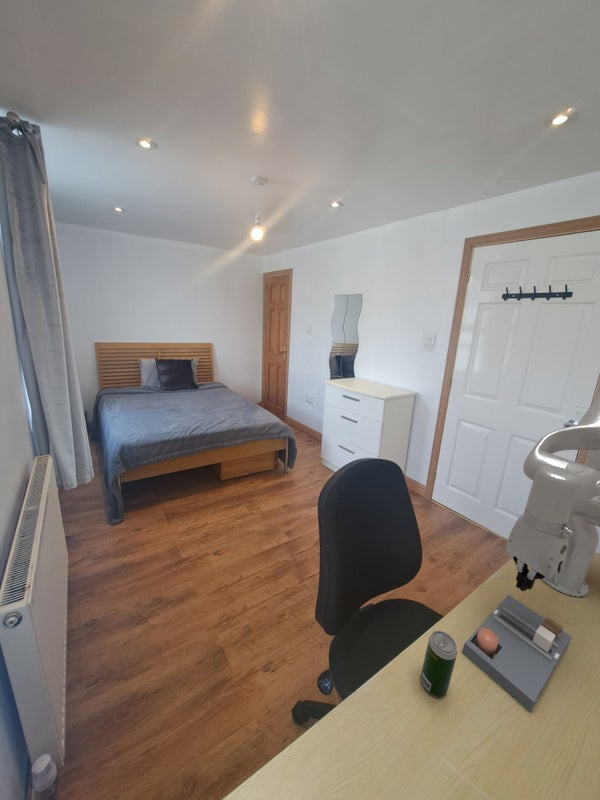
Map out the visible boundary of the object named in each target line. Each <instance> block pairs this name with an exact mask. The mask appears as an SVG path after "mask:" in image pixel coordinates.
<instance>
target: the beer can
mask: <svg viewBox="0 0 600 800" xmlns="http://www.w3.org/2000/svg"><path fill="white" fill-rule="evenodd" d="M457 647H458V645H457V642H456V641H455V639H454V638H453V636H452V635H450V634H449V633H447V632H446V631H443V630H434V631H433V632H432V633H431V634H430V635H429V636H428V642H427V645H426V650H425V655H424V658H423V659H424V660H423V664H422V668H421V672H420V682H421V684H422V687H423V689H424V690H425V691H426V693H427V694H428V695H430V696H432V697H433V698H437V699H439V698H443V697H445V696H446V695H447V693H448V690H449V688H450V682H451V680H452V674H453V673H454V671H453V670H454V667H455V663H456V660H457V657H458V648H457Z"/></svg>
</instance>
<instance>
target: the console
mask: <svg viewBox="0 0 600 800" xmlns="http://www.w3.org/2000/svg"><path fill="white" fill-rule="evenodd" d="M545 619H546V617H544V616H542V615H540V614H539V613H538V612H537V611H535V610H533V609H532V608H530V607H529V606H527V605H525V604H524V603H522V602H521V601H519V600H518V599H516V598H515V597H513V596H512V595H510V594H508V595H506V597H505V598H504V599H503V600H502V601H501V602H500V603H499V604H498V606H496V608H494V610H493V611H492V612H491V613H490V614H489V616H488V617H486V619H485V620H484V621H483V622H482V624H480V625H479V627H477V629H475V631H474V632H473V633H472V634H471V635H470V636H469V637H468V639H466V641H464V644H463V647H462V651H461V653H462V655H464V656H466V657H467V658H468V659H469V660H470V661H471V662H473V664H475V665H476V666H477V667H478V668H479V669H480V670H482V672H484V673H485V674H486V675H487V676H488V677H489V678H490V679H492V681H494V683H496V684H497V685H499V687H501V688H502V689H503V690H504V691H506V693H508V695H510V696H511V697H512V698H513V699H514V700H515V701H516V702H518V703H519V704H520V705H521V706H522V707H524V708H525V709H526V711H528V712H529V713H531V712H532V710H533V709H534V707H535V705H536V703H537V701H538V700H539V698H540V696H541V694H542V693H543V691H544V689H545V687H547V684H548V682H549V681H550V680H551V676H552V675H553V673H554V672H555V670H556V668H557V667H558V664H559V662H560V661H561V660H562V657H563V656H564V654H565V652H566V651H567V648H568V646H569V645H570V642H571V640H572V637H573V636H572V635H570V634H569V633H568V632H566V631H564V630H563V629H562V630H561V632H560V633H559V635H558V636H557V637H555V639H554V641H553V644H552V646H551V648H550V650H549V651H548V653H547V652H545V651H544V650H542V649H541V648H540V647H538V646H537V645H536V644H534V643H533V642H532V641H533V638H534V635H535V632H536V631H537V629H538V628H539V626H540V625H541V624H542V622H543V621H544V620H545ZM480 628H488V629H490V630H491V631H493V632H494V633H495V634H496V635H497V637H498V640H499V641H498V645H497V648H496V651H495V654H494V655H495V656H494V657H493V659H492V658H491V656H487V655H486V654H485V653H484V652H483V651H481V650H480V649H479V648H478V647H477V646H476V644H475V643H476V639H477V635H478V632H479V629H480Z"/></svg>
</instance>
